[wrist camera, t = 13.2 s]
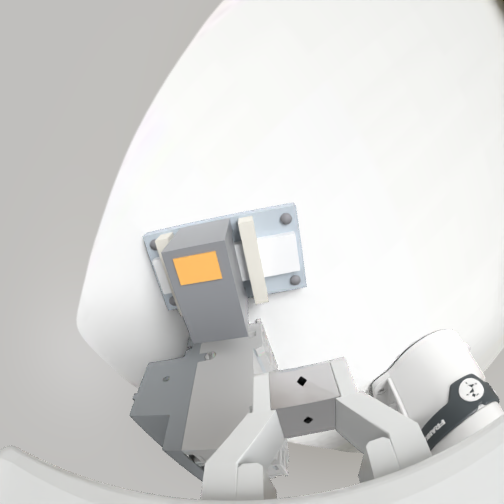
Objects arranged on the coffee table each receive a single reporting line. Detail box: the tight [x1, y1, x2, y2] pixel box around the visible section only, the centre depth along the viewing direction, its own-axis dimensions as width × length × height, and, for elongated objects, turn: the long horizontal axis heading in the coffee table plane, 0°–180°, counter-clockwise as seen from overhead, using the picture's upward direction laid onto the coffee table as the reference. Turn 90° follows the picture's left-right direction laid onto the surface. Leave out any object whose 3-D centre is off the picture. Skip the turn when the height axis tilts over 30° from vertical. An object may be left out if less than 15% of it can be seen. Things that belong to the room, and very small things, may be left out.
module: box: [161, 218, 248, 344], centre depth 22 cm, size 8×4×6 cm, turn 11°
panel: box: [143, 203, 307, 316], centre depth 25 cm, size 8×14×3 cm, turn 101°
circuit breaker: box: [130, 319, 289, 482], centre depth 24 cm, size 8×14×15 cm, turn 107°
